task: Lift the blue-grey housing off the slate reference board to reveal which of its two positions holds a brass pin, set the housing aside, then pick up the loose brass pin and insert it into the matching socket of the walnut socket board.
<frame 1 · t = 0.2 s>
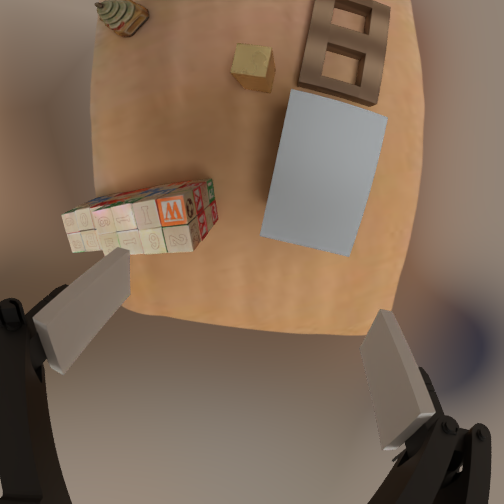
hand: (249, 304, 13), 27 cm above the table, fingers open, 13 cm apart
ornament: (129, 19, 28), on the table
socket board: (343, 46, 28), on the table
stack of blocks: (151, 206, 41), on the table
housing: (311, 162, 35), on the table
brass pin: (260, 79, 32), on the table
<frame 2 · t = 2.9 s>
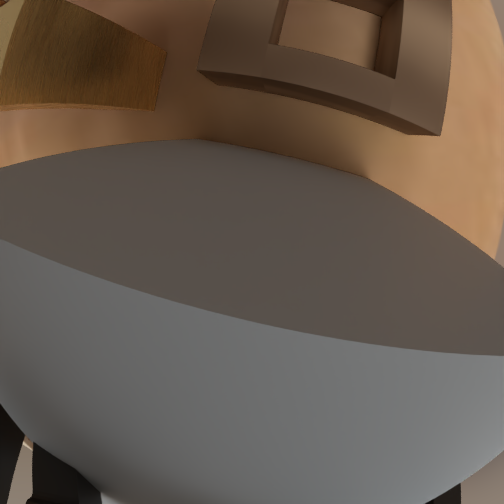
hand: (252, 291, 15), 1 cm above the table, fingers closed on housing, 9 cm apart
housing: (255, 278, 16), on the table, touching gripper
brass pin: (133, 80, 12), on the table
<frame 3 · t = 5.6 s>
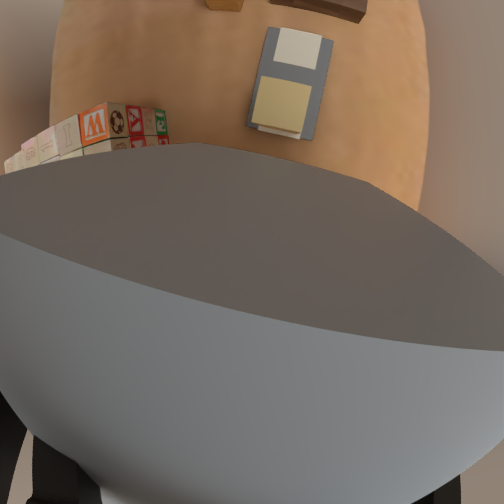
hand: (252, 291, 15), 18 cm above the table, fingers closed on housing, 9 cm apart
reference board: (290, 82, 25), on the table
stack of blocks: (100, 151, 31), on the table
housing: (255, 279, 16), point 17 cm above the table, touching gripper
when the fingers open (3 cm above the table, at t = 8.6 s): housing drops 1 cm, on the table.
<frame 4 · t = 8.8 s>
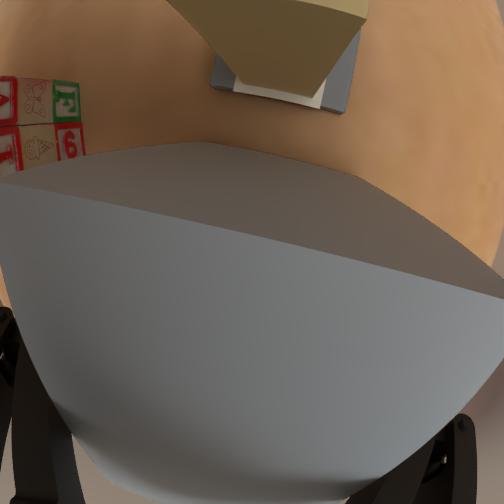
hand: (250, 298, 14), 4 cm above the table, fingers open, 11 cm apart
reference board: (297, 10, 11), on the table
stack of blocks: (10, 157, 16), on the table
housing: (256, 269, 17), on the table
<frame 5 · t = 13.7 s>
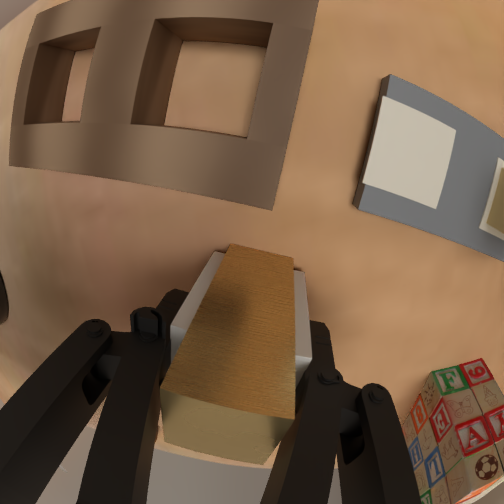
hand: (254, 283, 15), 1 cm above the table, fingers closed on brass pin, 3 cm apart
reference board: (458, 177, 12), on the table
socket board: (148, 80, 12), on the table
stack of blocks: (421, 426, 21), on the table
brass pin: (255, 278, 16), on the table, touching gripper
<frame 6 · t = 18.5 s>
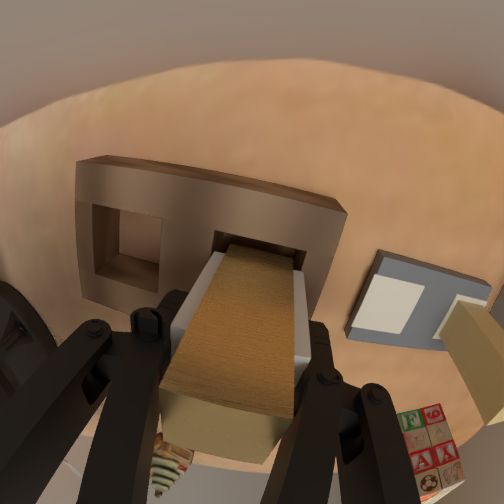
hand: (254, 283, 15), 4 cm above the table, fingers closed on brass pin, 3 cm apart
reference board: (423, 305, 19), on the table
ornament: (170, 442, 33), on the table
socket board: (199, 242, 19), on the table
stack of blocks: (395, 444, 29), on the table
brass pin: (255, 278, 16), point 3 cm above the table, touching gripper
when the fingers open (4 cm above the table, at t = 20.1 s): brass pin drops 3 cm, resting in socket board.
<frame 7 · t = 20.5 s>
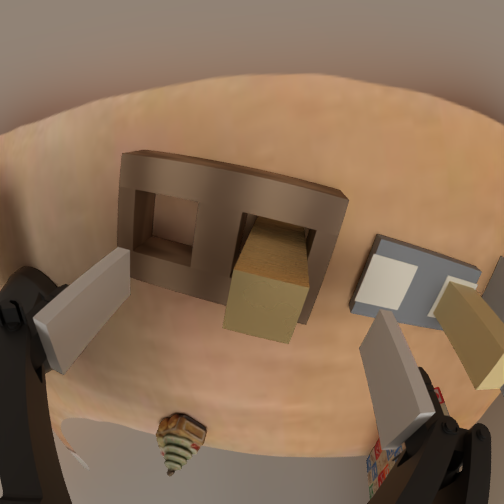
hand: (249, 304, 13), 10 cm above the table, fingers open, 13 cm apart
reference board: (418, 285, 22), on the table
ornament: (184, 423, 36), on the table
socket board: (225, 225, 22), on the table
stack of blocks: (398, 429, 31), on the table
brass pin: (276, 237, 22), resting in socket board
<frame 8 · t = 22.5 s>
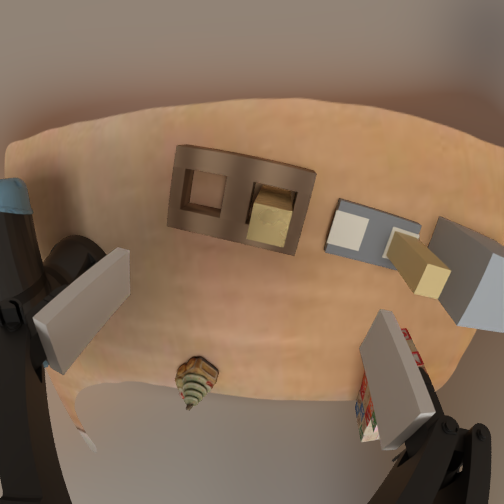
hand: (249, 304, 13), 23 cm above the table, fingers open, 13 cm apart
reference board: (373, 235, 34), on the table
ornament: (199, 368, 48), on the table
socket board: (241, 194, 34), on the table
stack of blocks: (378, 372, 44), on the table
housing: (460, 256, 33), on the table
brass pin: (273, 201, 34), resting in socket board
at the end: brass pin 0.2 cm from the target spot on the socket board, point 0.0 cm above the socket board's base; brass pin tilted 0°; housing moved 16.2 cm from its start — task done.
